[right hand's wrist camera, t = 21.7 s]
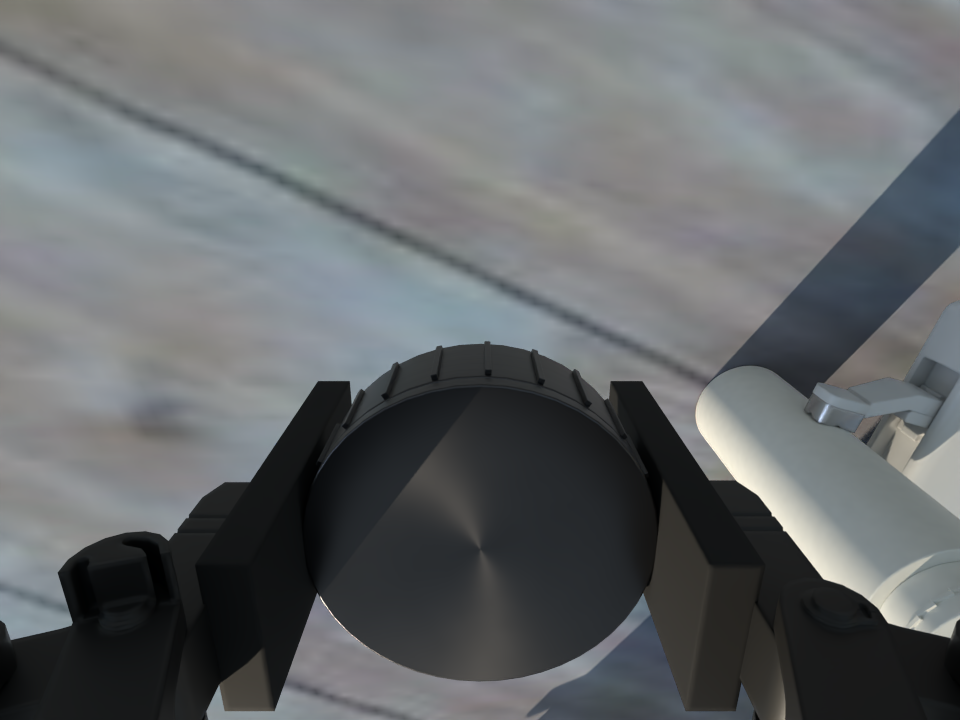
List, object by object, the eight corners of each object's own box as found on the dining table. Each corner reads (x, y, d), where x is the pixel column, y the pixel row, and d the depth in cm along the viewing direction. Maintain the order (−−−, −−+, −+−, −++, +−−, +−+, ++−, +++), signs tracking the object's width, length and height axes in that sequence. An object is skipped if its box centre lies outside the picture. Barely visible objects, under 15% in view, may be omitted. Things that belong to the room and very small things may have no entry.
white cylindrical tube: (709, 359, 34) (938, 579, 17) (802, 371, 34) (1118, 600, 17) (684, 444, 36) (868, 717, 19) (772, 455, 36) (1031, 733, 19)
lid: (671, 554, 13) (704, 627, 11) (404, 639, 14) (391, 720, 12) (577, 290, 11) (597, 321, 9) (270, 409, 12) (228, 462, 10)
